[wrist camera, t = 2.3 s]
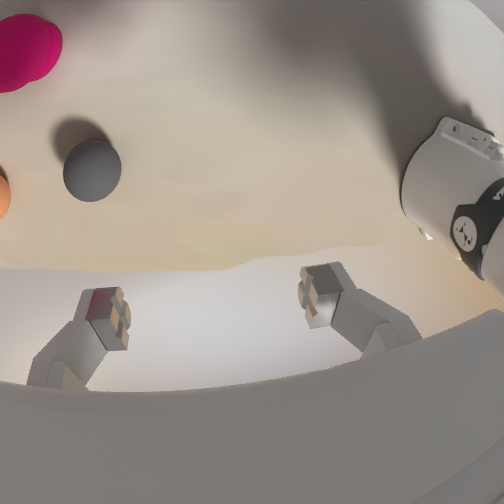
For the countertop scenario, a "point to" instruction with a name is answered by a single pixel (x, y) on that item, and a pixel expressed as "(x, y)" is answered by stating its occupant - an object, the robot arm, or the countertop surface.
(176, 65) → the countertop surface
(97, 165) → the dark grey ball
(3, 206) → the object ball
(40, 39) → the pepper mill
